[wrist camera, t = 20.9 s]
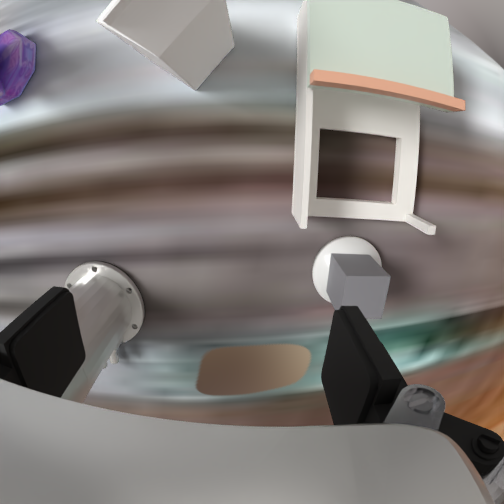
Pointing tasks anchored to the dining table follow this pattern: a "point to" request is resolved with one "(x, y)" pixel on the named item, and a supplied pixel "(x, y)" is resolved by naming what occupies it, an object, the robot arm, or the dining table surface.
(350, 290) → the block
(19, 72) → the lantern
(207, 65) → the milk carton
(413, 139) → the frame with rectangular opening
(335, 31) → the cover
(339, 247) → the white flat disc
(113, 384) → the dining table surface
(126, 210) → the dining table surface
